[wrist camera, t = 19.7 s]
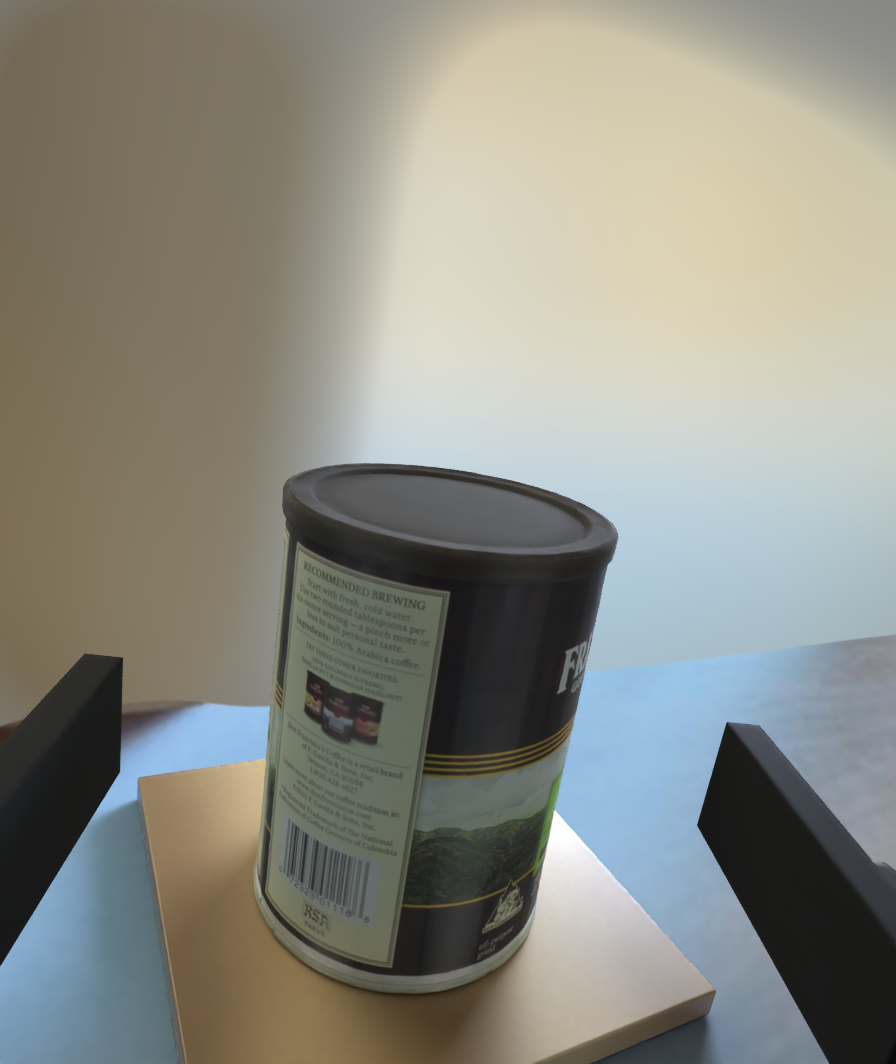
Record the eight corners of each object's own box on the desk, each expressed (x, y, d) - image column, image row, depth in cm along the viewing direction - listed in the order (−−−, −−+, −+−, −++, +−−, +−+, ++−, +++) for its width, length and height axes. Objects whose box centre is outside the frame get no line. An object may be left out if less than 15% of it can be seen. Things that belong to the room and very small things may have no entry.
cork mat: (203, 1231, 17) (206, 1199, 17) (136, 797, 30) (137, 776, 30) (710, 1013, 24) (717, 990, 24) (477, 743, 38) (479, 726, 38)
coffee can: (530, 805, 32) (595, 488, 28) (545, 1024, 22) (651, 581, 18) (293, 767, 32) (325, 446, 28) (204, 967, 22) (234, 515, 18)
